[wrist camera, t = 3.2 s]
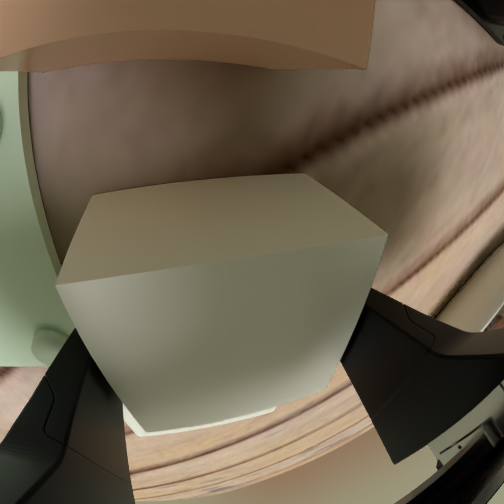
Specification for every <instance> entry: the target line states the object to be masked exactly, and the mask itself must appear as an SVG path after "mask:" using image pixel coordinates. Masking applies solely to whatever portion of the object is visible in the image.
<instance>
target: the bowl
mask: <svg viewBox="0 0 504 504" xmlns="http://www.w3.org/2000/svg"><path fill="white" fill-rule="evenodd" d="M435 319H437V320H439V321H441V322H444V323H446V324H449V325H451V326H453V327H456V328H458V329H460V330H463V331H466V332H483V331H488V330H494V329H499V328H504V243H503V244H502V245H500V246H499V247H498V248H497V249H496V250H495V251H494V252H493V253H492V254H491V255H490V256H489V257H488V258H487V259H486V260H485V261H484V262H483V263H482V264H481V265H480V267H479V268H478V269H477V270H476V271H475V272H474V273H473V274H472V276H471V277H470V278H469V279H468V280H467V281H466V283H465V284H464V285H463V286H462V287H461V288H460V290H459V291H458V292H457V293H456V294H455V296H454V297H453V298H452V299H451V300H450V302H449V303H448V304H447V305H446V306H445V307H444V309H443V310H442V311H441V312H440V314H439V315H438V316H437V317H436V318H435Z"/></svg>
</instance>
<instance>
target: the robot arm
mask: <svg viewBox="0 0 504 504" xmlns="http://www.w3.org/2000/svg"><path fill="white" fill-rule="evenodd" d="M455 1H457V2H458V3H459V4H460V5H461V6H462V7H463V8H465V9H466V10H467V11H468V12H469V13H470V14H471V15H472V16H473V17H474V18H475V19H476V20H477V21H478V22H479V23H480V24H481V25H482V26H483V27H484V28H485V29H486V30H487V31H488V32H489V33H490V34H491V35H492V36H493V37H494V38H495V40H496V41H497V42H498V43H499V44H500V45H503V46H504V0H455ZM340 362H341V363H342V365H343V367H344V369H345V371H346V373H347V375H348V377H349V378H350V380H351V382H352V384H353V386H354V388H355V390H356V392H357V394H358V395H359V397H360V399H361V401H362V403H363V405H364V407H365V409H366V411H367V413H368V415H369V417H370V418H371V421H372V423H373V425H374V427H375V429H376V430H377V432H378V434H379V436H380V438H381V440H382V442H383V444H384V446H385V448H386V450H387V452H388V454H389V456H390V458H391V460H392V462H393V463H394V465H395V464H397V463H399V462H400V461H402V460H404V459H405V458H407V457H409V456H410V455H412V454H414V453H415V452H416V451H418V450H420V449H421V448H423V447H424V446H426V445H428V446H429V448H430V449H431V451H432V453H433V454H434V456H435V457H436V459H437V460H438V461H437V466H436V468H437V469H438V471H437V472H436V473H435V474H433V475H432V476H431V477H430V478H429V479H427V480H426V481H425V482H423V483H422V484H421V485H420V486H418V487H417V488H416V489H414V490H413V491H412V492H410V493H409V494H408V495H406V496H405V497H403V498H402V499H400V500H399V501H397V502H396V503H395V504H487V503H488V501H489V500H490V499H491V498H492V497H493V496H494V494H495V493H496V492H497V491H498V489H499V488H500V487H501V486H502V484H503V483H504V328H499V329H494V330H488V331H483V332H466V331H463V330H460V329H458V328H456V327H453V326H451V325H449V324H446V323H444V322H441V321H439V320H437V319H434V318H432V317H430V316H428V315H425V314H423V313H421V312H419V311H417V310H415V309H413V308H411V307H409V306H407V305H405V304H402V303H401V302H399V301H397V300H395V299H393V298H391V297H389V296H387V295H385V294H383V293H381V292H379V291H377V290H375V289H373V288H370V291H369V294H368V296H367V299H366V302H365V304H364V307H363V309H362V312H361V314H360V317H359V319H358V321H357V324H356V326H355V328H354V331H353V333H352V335H351V338H350V340H349V342H348V344H347V347H346V349H345V351H344V353H343V355H342V357H341V359H340ZM0 504H135V500H134V495H133V489H132V485H131V478H130V472H129V465H128V458H127V449H126V440H125V429H124V416H123V403H122V401H121V400H120V398H119V397H118V396H117V394H116V393H115V391H114V390H113V388H112V387H111V386H110V384H109V383H108V381H107V380H106V378H105V377H104V375H103V374H102V372H101V370H100V369H99V367H98V366H97V364H96V362H95V361H94V359H93V358H92V356H91V354H90V353H89V351H88V349H87V347H86V346H85V344H84V342H83V340H82V339H81V337H80V335H79V333H78V331H77V329H76V328H74V330H73V331H72V333H71V334H70V336H69V337H68V339H67V340H66V342H65V343H64V345H63V346H62V348H61V349H60V351H59V352H58V354H57V355H56V357H55V359H54V360H53V362H52V363H51V365H50V367H49V368H48V370H47V372H46V373H45V376H43V378H42V380H41V381H40V383H39V385H38V387H37V388H36V390H35V391H34V393H33V395H32V397H31V398H30V400H29V401H28V403H27V404H26V406H25V407H24V409H23V410H22V412H21V413H20V415H19V416H18V418H17V419H16V421H15V422H14V424H13V425H12V427H11V429H10V430H9V432H8V433H7V435H6V436H5V438H4V439H3V441H2V442H1V443H0Z"/></svg>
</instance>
